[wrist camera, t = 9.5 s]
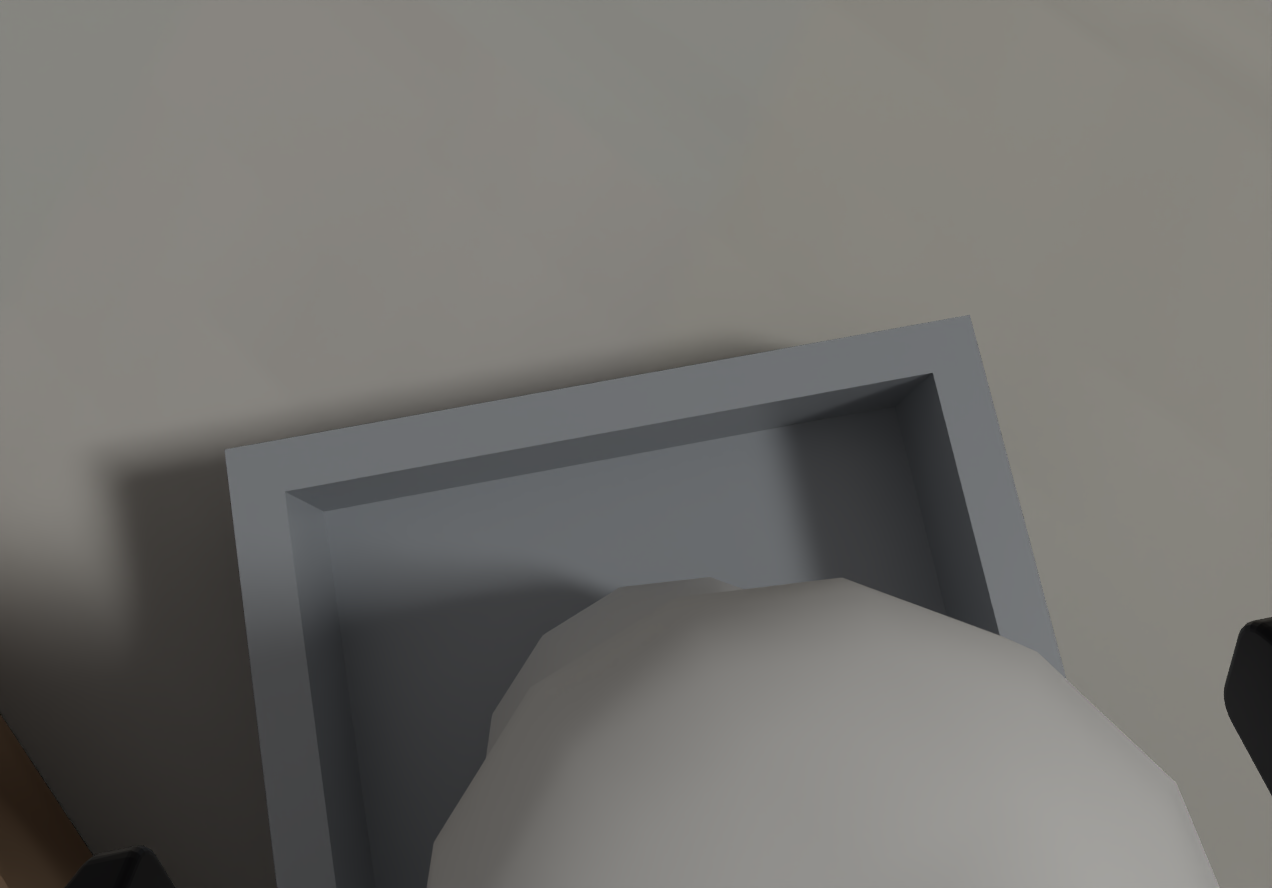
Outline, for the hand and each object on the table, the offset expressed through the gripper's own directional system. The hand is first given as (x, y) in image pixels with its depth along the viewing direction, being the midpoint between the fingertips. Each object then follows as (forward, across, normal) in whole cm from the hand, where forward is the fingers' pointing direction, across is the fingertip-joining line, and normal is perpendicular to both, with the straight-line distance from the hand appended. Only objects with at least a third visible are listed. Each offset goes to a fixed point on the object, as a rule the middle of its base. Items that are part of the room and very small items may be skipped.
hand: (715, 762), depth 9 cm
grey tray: (+6, 0, +7) cm, 10 cm away
